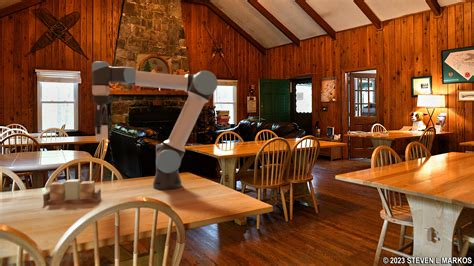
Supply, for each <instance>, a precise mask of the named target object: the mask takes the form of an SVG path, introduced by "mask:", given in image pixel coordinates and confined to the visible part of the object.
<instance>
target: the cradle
mask: <svg viewBox="0 0 474 266" xmlns="http://www.w3.org/2000/svg"><path fill="white" fill-rule="evenodd" d="M65 182H66V181H53V182H52V183H50V184H49V190H48V191H46V192H45V193H44V194H43V195H42V197H43V206H45V205H46V206H48V205H49V206H50V205H52V206H53V205H76V204H98V203H99V201H100V200H101V198H102V195H101V194H102V192H101V191H102V189H101V188H97V189H96V186H95V185H96V184H95V180H86V181H82V182H80V198H79V199H73V200H66V197H65Z"/></svg>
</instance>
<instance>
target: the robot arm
mask: <svg viewBox="0 0 474 266" xmlns="http://www.w3.org/2000/svg"><path fill="white" fill-rule="evenodd" d="M91 78H92V79H91V80H92V81H91V82H92V83H91V85H92V86H91V88H92V89H91V91H92V104H96V105H95V110H94V111H95V113H94V123H93V128H95V142H103V140H105V139H106V140H107V139H109V130H108V129H109V126H110V122H109V117H108V106H107V105H106V104H110V103H111V102H110V101H111V99H110V98H111V97H110V91H111V88H110V83H115V84H121V85H123V86H124V85H125V86H138V87H139V86H140V87H147V88H149V87H150V88H160V89H169V90H170V89H171V90H181V91H182V90H183V91H184V92H185V93H187V95H188V97H187V100H186V101H185V103H184V105H183V107H182V109H181V112H180V114H179V115H178V118H177V120H176V122H175V124H174V126H173V129H172V130H171V133H170V135H169V137H168V139H166V140H164V141H162V143H159V144H156V145H155V176H154V179H153V182H152V187H153V189H156V190H175V189H179V188H182V182H183V181H182V179H181V176H180V173H179V168H180V167H181V164H182V159H183V157H184V155H185V153H186V149H185V146H186V143H187V141H188V140H189V137H190V135H191V133H192V131H193V128H194V127H195V125H196V123H197V120H198V118H199V116H200V114H201V112H202V110H203V107H204V105H205V104H206V103H209V101H210V100H211V97H212V96H213V93H215V91H216V90H217V88H218V79H217V77H216V75H215V74H214V73H213V72H211V71H209V70H201V71H198V72H197V73H194V74H192V73H191V74H189V73H187V74H185V75H183V74H182V75H181V74H171V73H170V74H169V73H161V72H151V71H150V72H149V71H143V70H136V68H135V67H133V66H132V67H131V66H110V63H109V62H107V61H94V62H92V64H91Z"/></svg>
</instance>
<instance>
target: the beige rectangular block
mask: <svg viewBox="0 0 474 266" xmlns="http://www.w3.org/2000/svg"><path fill="white" fill-rule="evenodd" d="M64 182H65V197H66V200H73V199H79V198H80V183H81V179H79V178H78V179H67V180H65V181H64Z"/></svg>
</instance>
